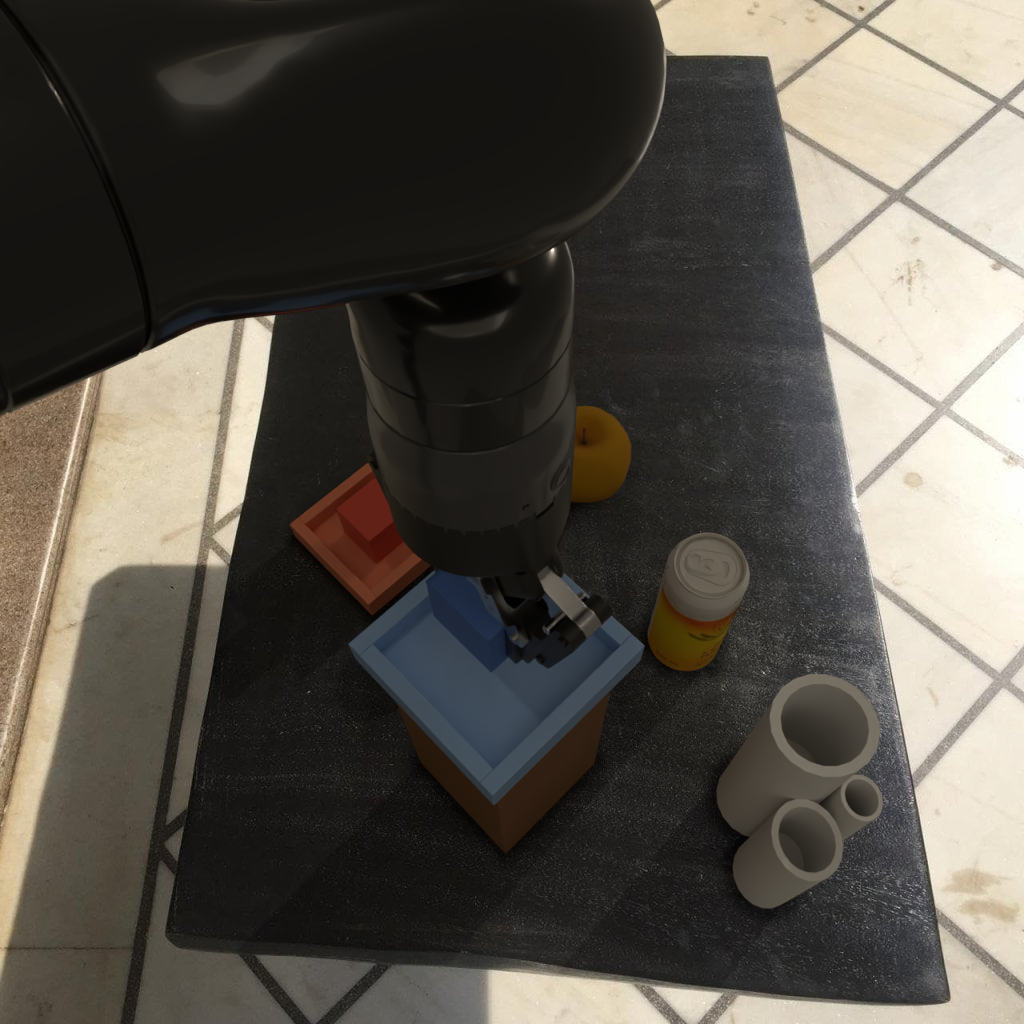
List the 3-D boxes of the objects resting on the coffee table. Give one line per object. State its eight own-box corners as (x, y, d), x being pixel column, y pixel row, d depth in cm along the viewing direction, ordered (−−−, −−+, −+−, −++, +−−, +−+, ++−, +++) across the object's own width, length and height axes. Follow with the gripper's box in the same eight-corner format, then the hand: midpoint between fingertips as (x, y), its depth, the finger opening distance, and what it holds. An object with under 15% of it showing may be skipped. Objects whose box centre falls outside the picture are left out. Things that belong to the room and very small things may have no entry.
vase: (706, 763, 78) (756, 681, 60) (794, 750, 78) (868, 665, 61) (742, 912, 73) (808, 870, 55) (835, 898, 73) (930, 852, 55)
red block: (376, 564, 87) (369, 541, 83) (344, 532, 88) (335, 508, 84) (414, 533, 88) (408, 509, 84) (382, 502, 90) (375, 477, 86)
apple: (635, 520, 89) (645, 469, 81) (538, 531, 88) (539, 481, 81) (618, 438, 93) (626, 382, 85) (526, 448, 93) (525, 393, 85)
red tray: (372, 615, 85) (368, 605, 83) (294, 536, 89) (289, 524, 87) (464, 537, 88) (462, 524, 86) (386, 464, 92) (382, 450, 90)
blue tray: (505, 873, 74) (492, 796, 51) (402, 761, 79) (347, 643, 55) (612, 763, 78) (645, 645, 55) (508, 662, 82) (499, 514, 59)
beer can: (708, 683, 81) (742, 614, 68) (638, 661, 82) (658, 589, 69) (724, 619, 84) (760, 540, 71) (656, 599, 85) (679, 518, 72)
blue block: (491, 673, 50) (487, 641, 46) (433, 616, 52) (424, 580, 48) (552, 616, 52) (554, 581, 48) (493, 562, 53) (490, 524, 49)
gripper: (279, 387, 38) (351, 574, 53) (538, 631, 33) (536, 761, 48) (423, 283, 40) (453, 490, 55) (684, 495, 35) (639, 659, 50)
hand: (492, 615), depth 51 cm, fingers closed on blue block, 4 cm apart
